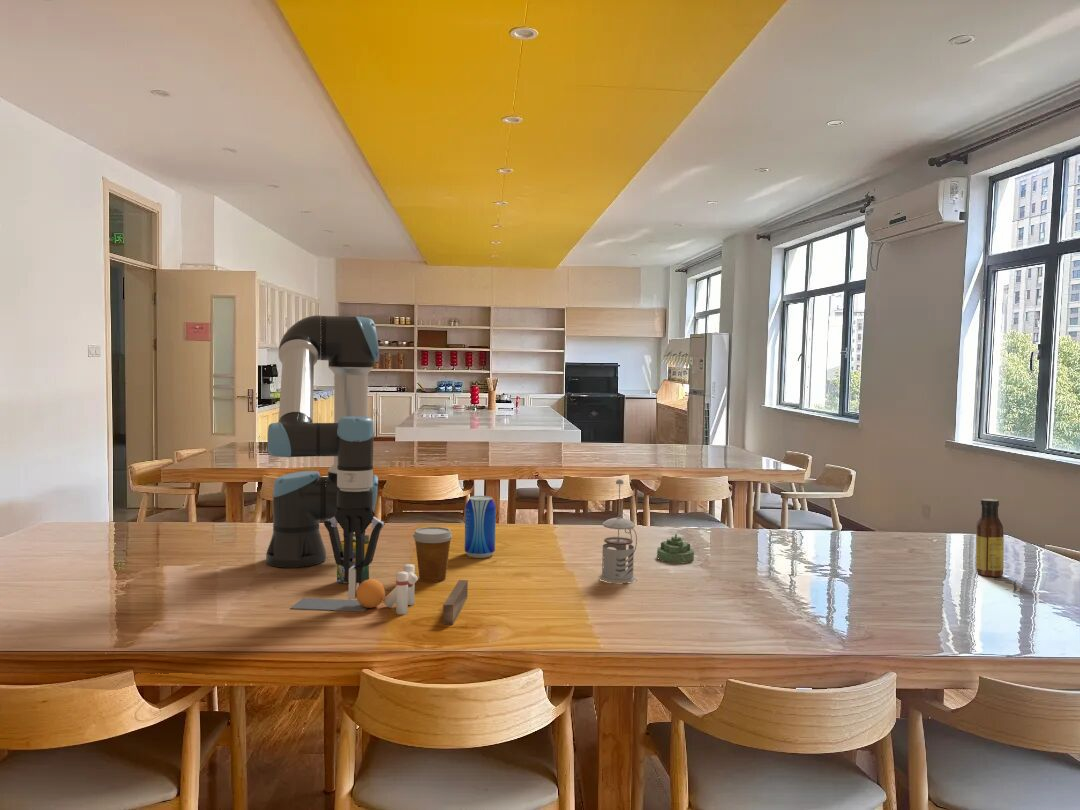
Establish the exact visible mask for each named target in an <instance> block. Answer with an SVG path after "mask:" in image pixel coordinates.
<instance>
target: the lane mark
mask: <svg viewBox="0 0 1080 810" xmlns="http://www.w3.org/2000/svg"><path fill="white" fill-rule="evenodd" d="M367 609H368V608H367V607H364V606H362V605H361V604H360V603H359V602H358V600H357V599H337V598H314V597H313V598H310V597H308V598H307V597H302V598H301V599H300V600H299V601H297V602H296V603H294V605H292V606H291V607H290V610H308V611H309V610H310V611H314V610H315V611H330V610H333V611H332V612H337V611H338V612H355V613H356V612H359V613H365V611H367Z"/></svg>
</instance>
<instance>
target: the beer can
mask: <svg viewBox="0 0 1080 810" xmlns="http://www.w3.org/2000/svg"><path fill="white" fill-rule="evenodd" d="M496 507H497V506H496V504H495V502H494V500H493V497H492V496H488V495H472V496H468V500H467V502H466V504H465V506H464V552H465V553H466V554H467V557H469V558H475V559H485V558H490V557H492V556H493V555H494V553H495V551H496V519H497V518H496V515H497V512H496V509H497V508H496Z"/></svg>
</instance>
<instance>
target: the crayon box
mask: <svg viewBox="0 0 1080 810" xmlns="http://www.w3.org/2000/svg"><path fill="white" fill-rule="evenodd" d="M354 537H355V533H354V534H353V562H354V563H353V564H352V566H355V555H356V537H355V539H354ZM369 540H370V535H367V534H365V545H364V560H365V556H366V552H367V548H368V544H369ZM340 541H341V540H340ZM341 545H342V549H343V554H344V540H342V541H341ZM368 579H370V564H369V565H368V566H365V567H364V568H363V581H365V580H368ZM363 581H362V582H363ZM338 582H343V583H342V584H345V583H348V582H345V581H344V567H343V566H341V565H337V564H336V583H338ZM362 582H361V583H362ZM361 583H359V585H360V584H361Z"/></svg>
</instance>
